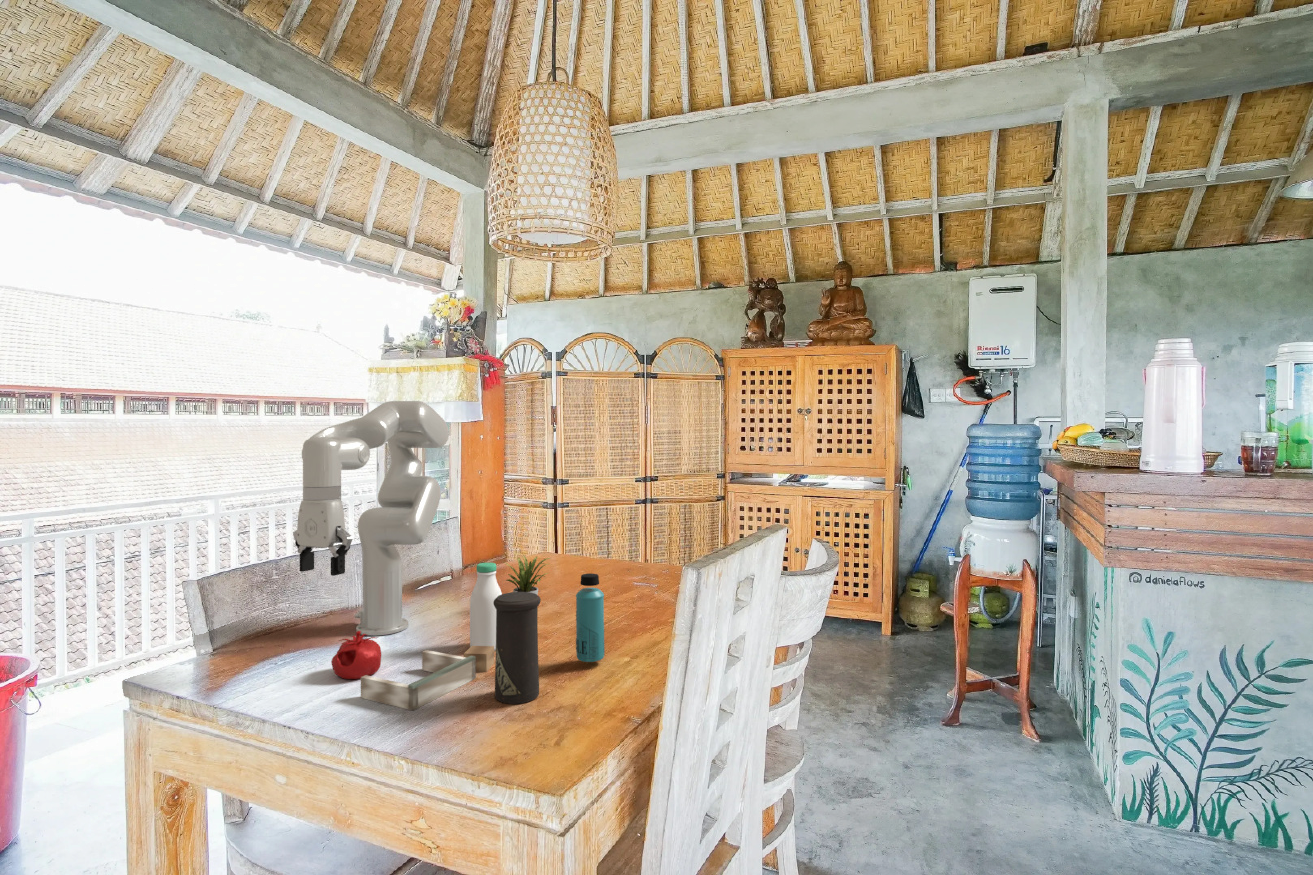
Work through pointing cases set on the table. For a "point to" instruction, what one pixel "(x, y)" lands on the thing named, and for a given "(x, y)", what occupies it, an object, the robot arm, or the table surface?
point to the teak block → (482, 657)
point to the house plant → (526, 576)
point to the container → (516, 647)
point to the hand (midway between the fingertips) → (322, 572)
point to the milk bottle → (484, 607)
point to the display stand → (422, 681)
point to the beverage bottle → (590, 620)
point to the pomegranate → (357, 658)
